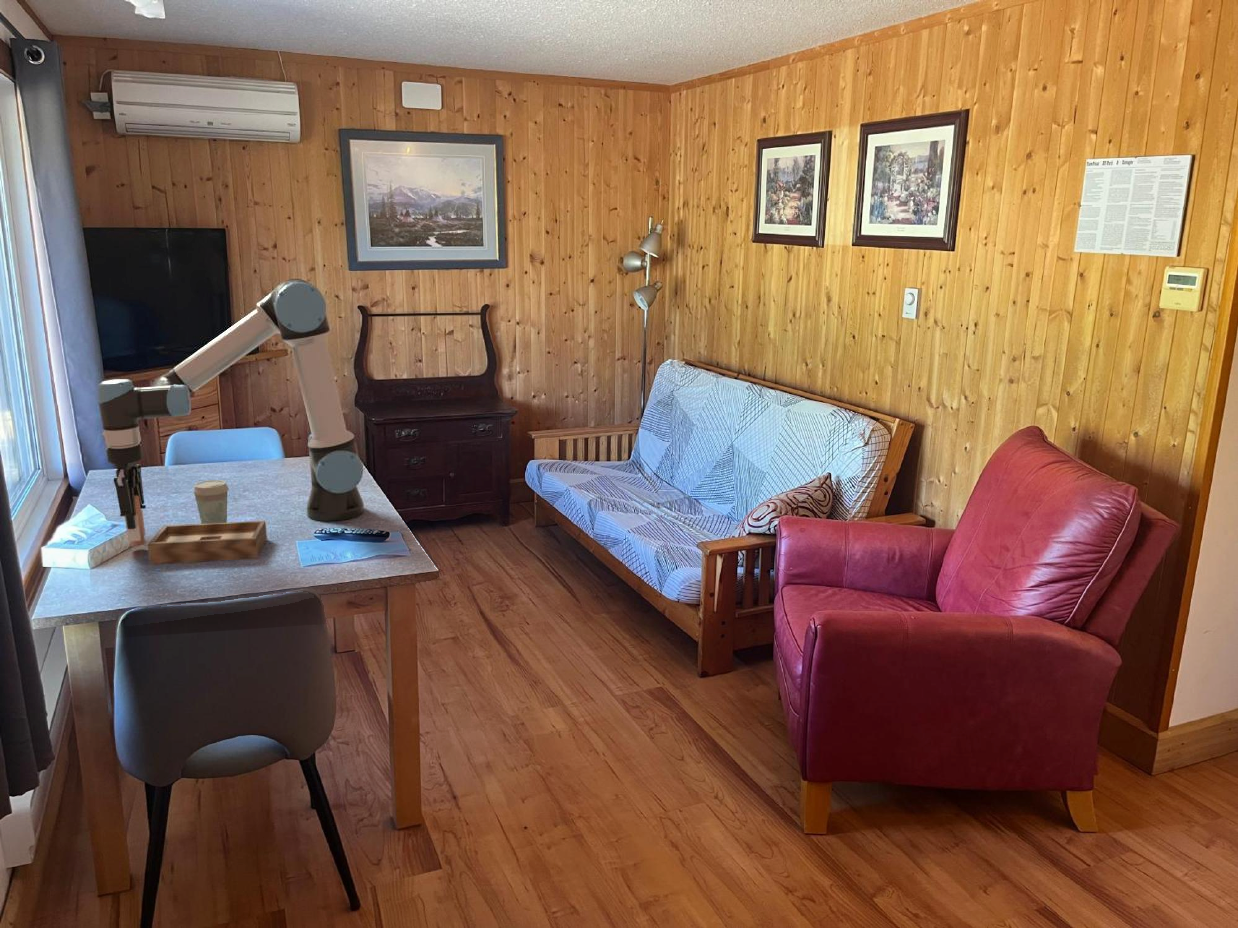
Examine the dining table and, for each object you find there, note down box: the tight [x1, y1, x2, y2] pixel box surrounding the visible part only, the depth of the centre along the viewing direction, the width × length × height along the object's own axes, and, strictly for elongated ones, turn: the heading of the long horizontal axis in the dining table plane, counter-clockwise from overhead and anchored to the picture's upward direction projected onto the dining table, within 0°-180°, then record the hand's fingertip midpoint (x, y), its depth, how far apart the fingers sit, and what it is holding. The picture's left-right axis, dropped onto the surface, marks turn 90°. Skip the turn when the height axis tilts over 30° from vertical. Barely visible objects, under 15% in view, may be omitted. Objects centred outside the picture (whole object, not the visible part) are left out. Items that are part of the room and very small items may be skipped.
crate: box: [147, 520, 268, 565], centre depth 232 cm, size 24×14×5 cm, turn 101°
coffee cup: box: [192, 479, 229, 524], centre depth 249 cm, size 8×8×12 cm
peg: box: [129, 495, 146, 547], centre depth 232 cm, size 3×3×12 cm
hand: (137, 537), depth 233 cm, fingers closed on peg, 3 cm apart
